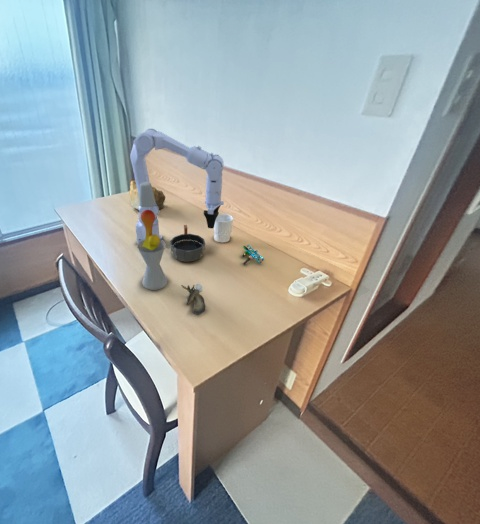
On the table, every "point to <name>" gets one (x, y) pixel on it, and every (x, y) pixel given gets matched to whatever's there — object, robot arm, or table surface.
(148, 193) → the lava lamp
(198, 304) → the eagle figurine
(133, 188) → the rough brown rock
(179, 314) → the table surface
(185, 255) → the black cooking pot
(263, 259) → the stick construction toy
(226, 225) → the white cup
